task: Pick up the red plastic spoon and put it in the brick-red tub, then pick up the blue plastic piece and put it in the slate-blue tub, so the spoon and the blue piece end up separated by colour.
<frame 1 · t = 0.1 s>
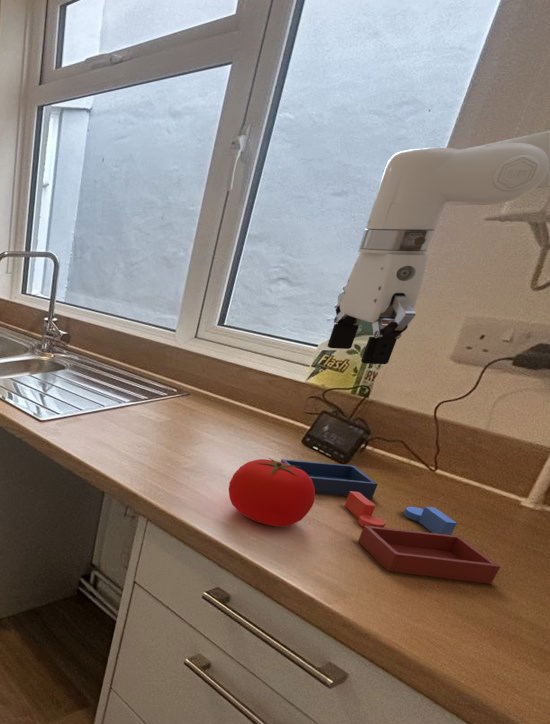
hand: (355, 355, 84), 27 cm above the worktop, tool pointing down, fingers open, 9 cm apart
blue piece: (426, 524, 88), on the worktop
tomato: (261, 519, 90), on the worktop
red spoon: (361, 518, 90), on the worktop
blue tub: (322, 484, 101), on the worktop
red tub: (420, 561, 79), on the worktop
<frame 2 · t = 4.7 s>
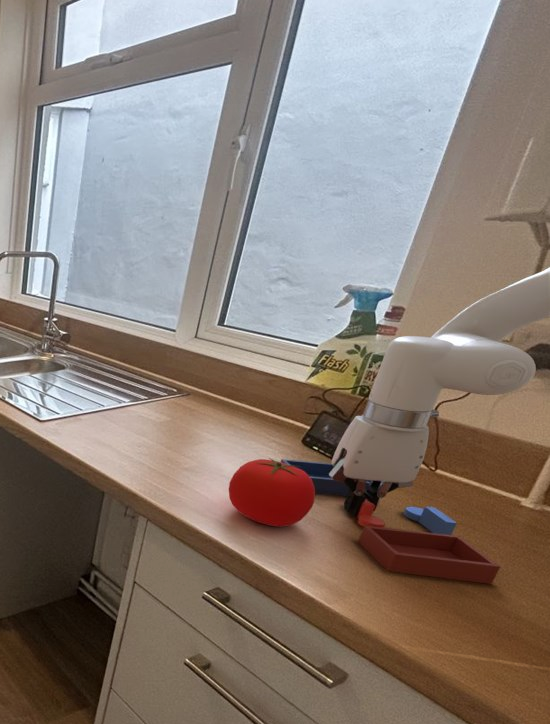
hand: (356, 512, 91), 0 cm above the worktop, tool pointing down, fingers closed on red spoon
red spoon: (361, 517, 90), on the worktop, touching gripper
everything else where it was.
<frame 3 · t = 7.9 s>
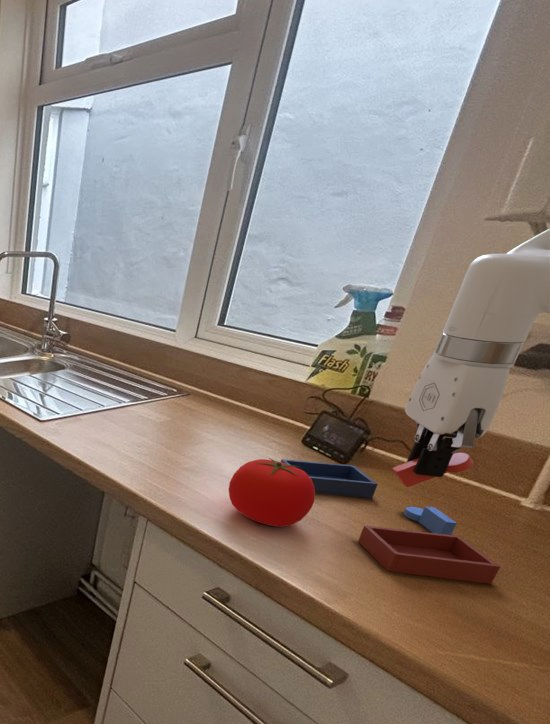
hand: (423, 471, 78), 13 cm above the worktop, tool pointing down, fingers closed on red spoon
red spoon: (437, 473, 77), point 13 cm above the worktop, tilted 40°, touching gripper
everything else where it was.
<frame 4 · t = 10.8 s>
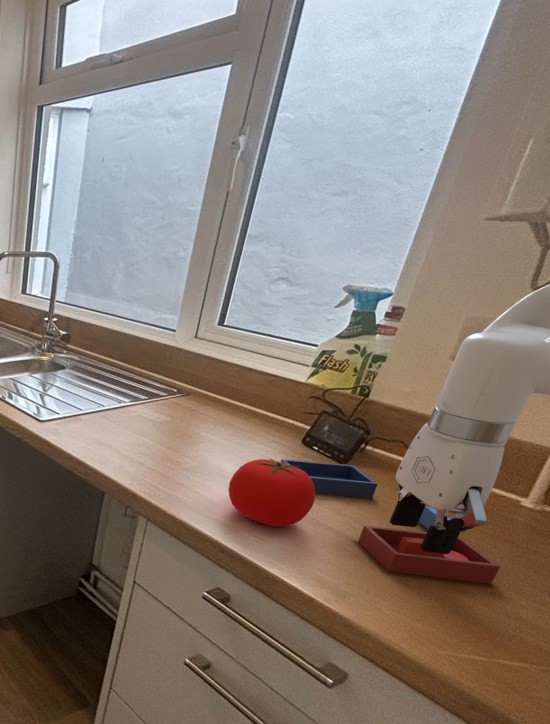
hand: (418, 536, 78), 4 cm above the worktop, tool pointing down, fingers open, 6 cm apart
red spoon: (430, 559, 78), resting on red tub
everything else where it was.
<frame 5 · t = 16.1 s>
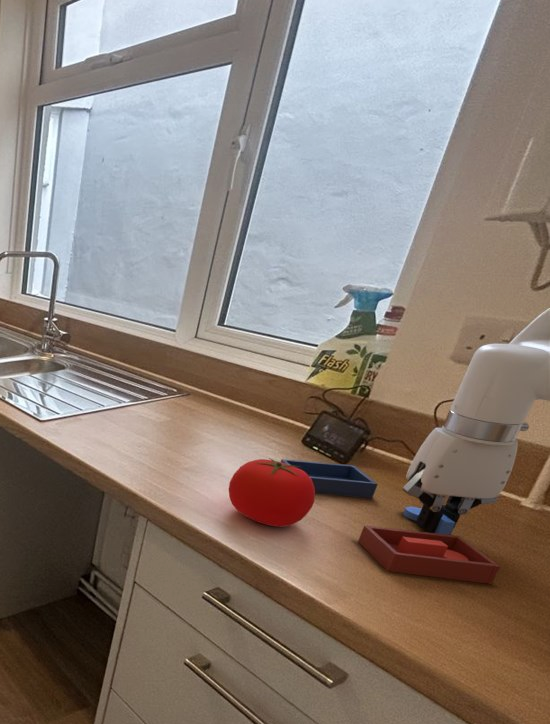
hand: (432, 529, 86), 0 cm above the worktop, tool pointing down, fingers closed on blue piece
blue piece: (425, 524, 88), on the worktop, touching gripper
everything else where it was.
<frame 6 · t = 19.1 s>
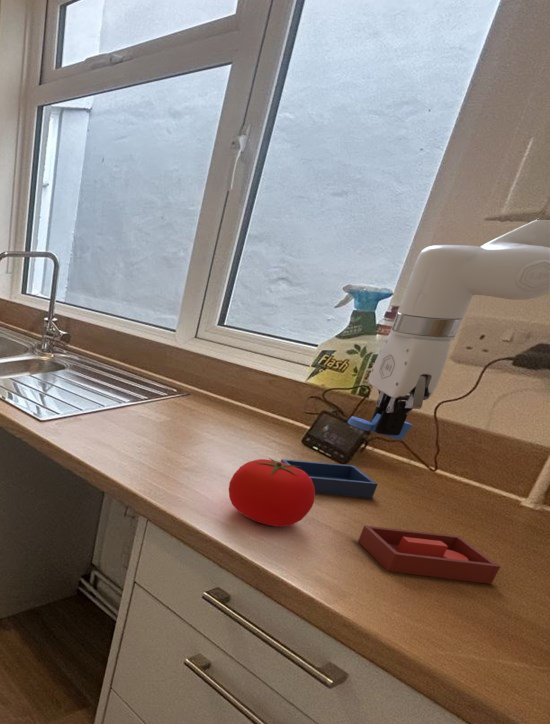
hand: (383, 431, 91), 13 cm above the worktop, tool pointing down, fingers closed on blue piece
blue piece: (373, 431, 92), point 13 cm above the worktop, tilted 14°, touching gripper
everything else where it was.
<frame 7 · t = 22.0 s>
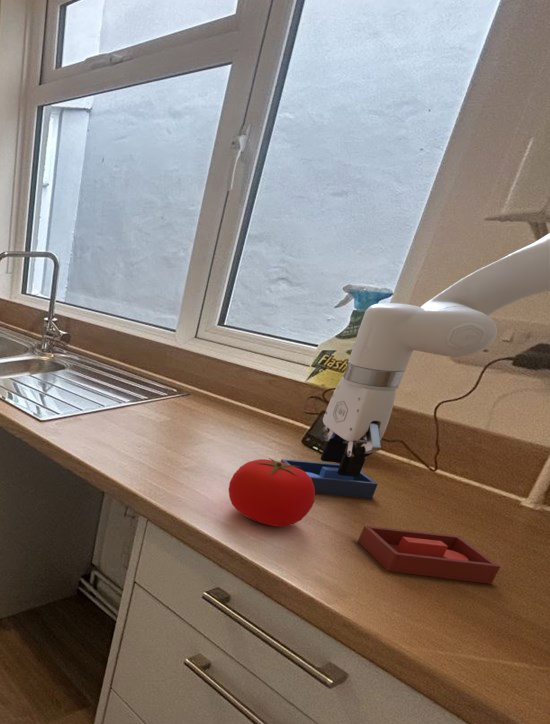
hand: (338, 467, 99), 4 cm above the worktop, tool pointing down, fingers open, 5 cm apart
blue piece: (323, 482, 100), resting on blue tub
everything else where it was.
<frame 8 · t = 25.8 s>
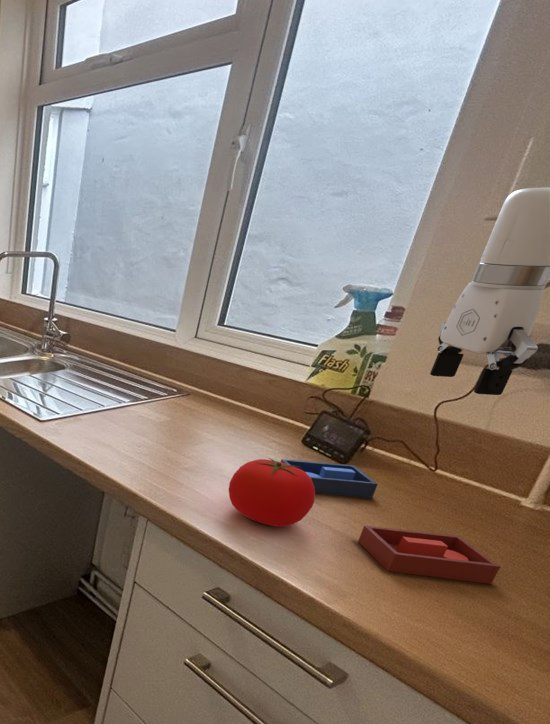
hand: (463, 384, 86), 22 cm above the worktop, tool pointing down, fingers open, 9 cm apart
nothing on the worktop moved.
at the end: red spoon inside the target area in the red tub (1.1 cm from its centre), point 0.5 cm above the red tub's base; blue piece inside the target area in the blue tub (0.1 cm from its centre), point 0.5 cm above the blue tub's base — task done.
